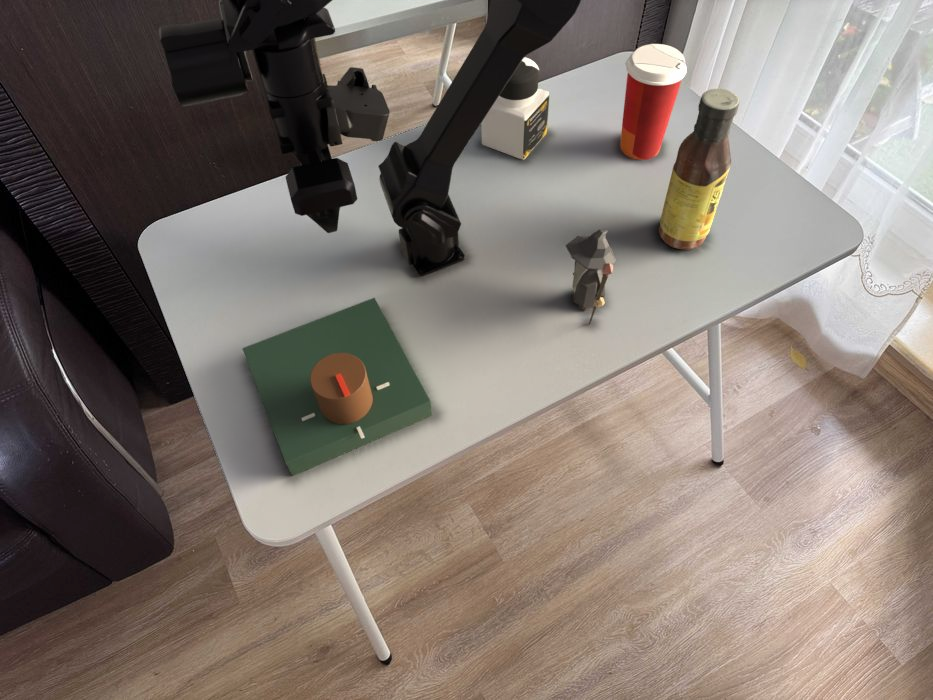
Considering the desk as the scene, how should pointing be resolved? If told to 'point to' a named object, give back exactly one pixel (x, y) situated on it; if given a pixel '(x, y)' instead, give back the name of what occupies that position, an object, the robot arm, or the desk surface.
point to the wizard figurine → (590, 269)
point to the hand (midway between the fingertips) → (324, 203)
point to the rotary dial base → (294, 403)
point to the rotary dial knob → (341, 388)
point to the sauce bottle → (699, 173)
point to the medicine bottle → (518, 114)
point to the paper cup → (650, 98)
